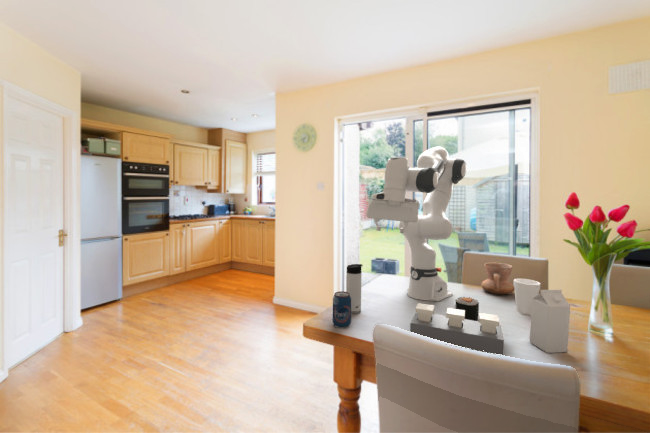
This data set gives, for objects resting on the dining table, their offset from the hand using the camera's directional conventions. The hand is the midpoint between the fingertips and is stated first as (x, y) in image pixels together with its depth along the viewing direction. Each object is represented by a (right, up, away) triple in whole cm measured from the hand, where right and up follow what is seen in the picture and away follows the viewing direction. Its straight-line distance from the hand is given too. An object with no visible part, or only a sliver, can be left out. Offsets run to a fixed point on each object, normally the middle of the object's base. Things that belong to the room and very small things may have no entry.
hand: (390, 231), depth 122 cm
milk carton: (+46, -37, -22) cm, 63 cm away
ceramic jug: (+61, -33, +34) cm, 77 cm away
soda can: (-20, -35, -6) cm, 41 cm away
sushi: (+31, -35, +1) cm, 46 cm away
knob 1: (+10, -31, -12) cm, 35 cm away
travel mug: (-14, -34, +7) cm, 37 cm away
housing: (+19, -36, -16) cm, 44 cm away
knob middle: (+19, -32, -17) cm, 40 cm away
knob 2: (+28, -32, -21) cm, 47 cm away
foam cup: (+59, -34, +8) cm, 69 cm away
